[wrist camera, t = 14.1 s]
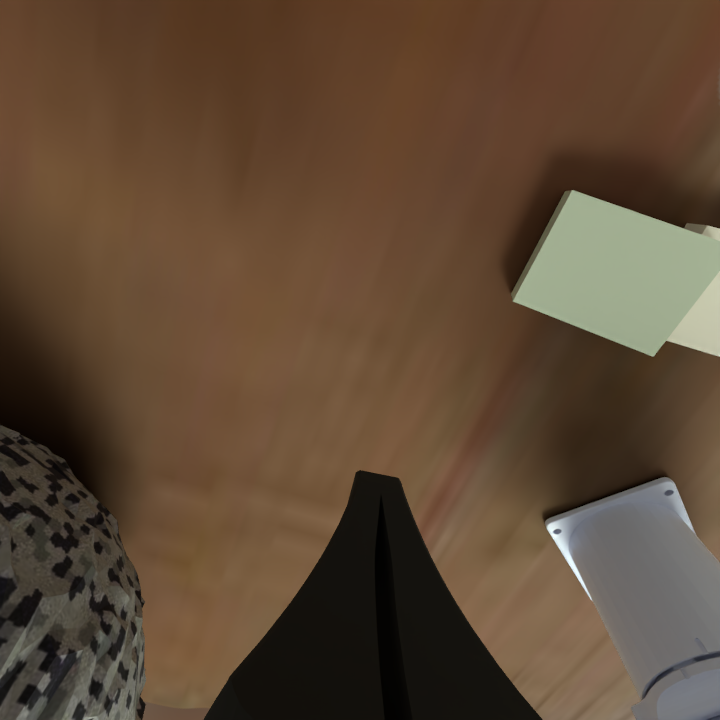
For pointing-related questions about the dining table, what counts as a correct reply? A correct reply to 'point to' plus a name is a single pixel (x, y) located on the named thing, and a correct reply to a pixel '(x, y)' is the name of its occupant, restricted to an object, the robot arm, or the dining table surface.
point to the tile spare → (616, 272)
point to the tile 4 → (702, 310)
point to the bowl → (63, 596)
